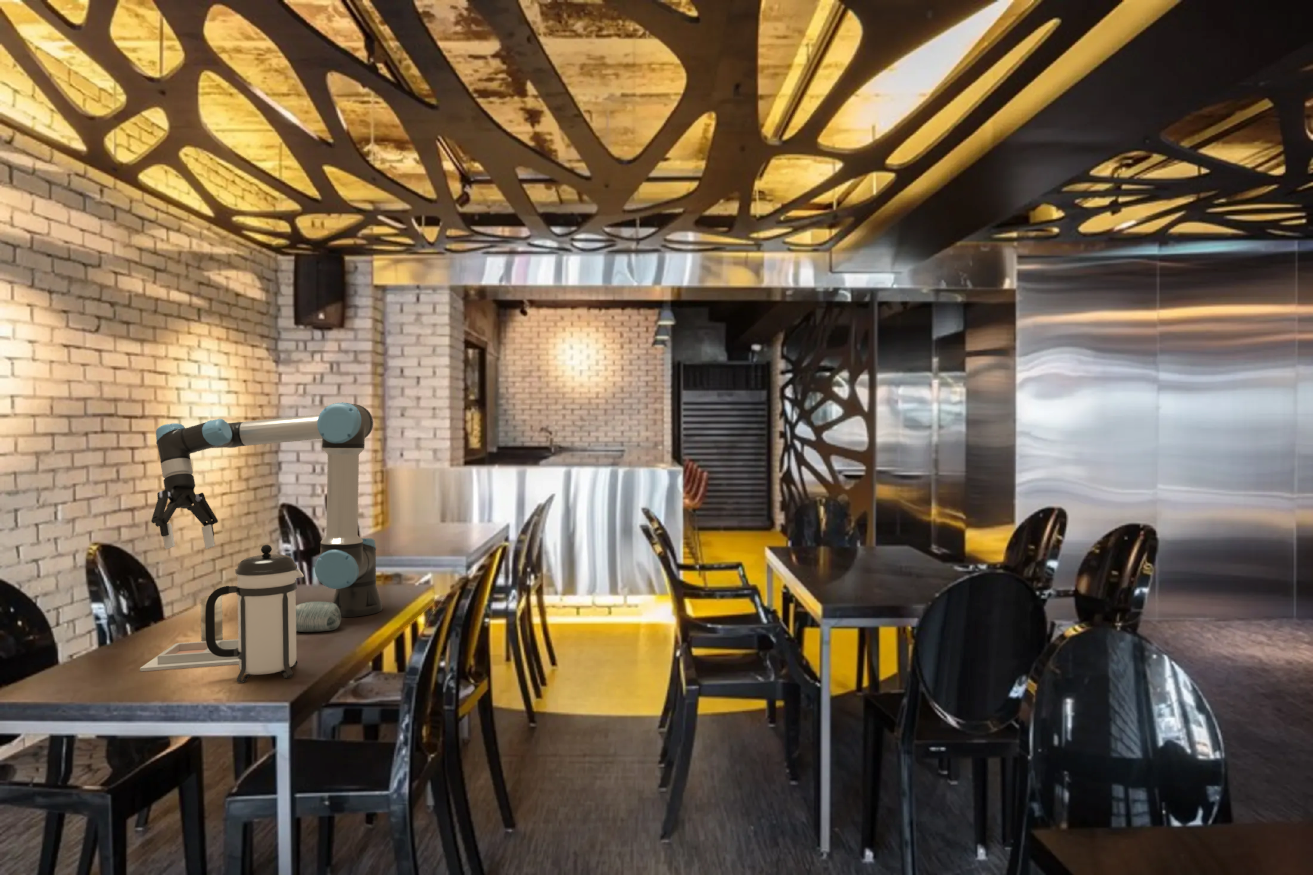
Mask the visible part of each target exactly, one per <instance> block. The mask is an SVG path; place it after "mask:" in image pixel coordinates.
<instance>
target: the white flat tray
mask: <svg viewBox="0 0 1313 875" xmlns="http://www.w3.org/2000/svg"><path fill="white" fill-rule="evenodd" d="M216 644H217V645H218V646H219V647H220V648H222V649H236V648H238V638H236V639H223V640H219V641H216ZM232 665H233V666H235V665H236V666H237V665H239V659H238V658H237V657H220V656H216V655H214V654H213V653H212V652H210V650H209V649H208V647H207V643H206V641H203V642H201V641H191V642H189V641H188V642H178V643H177V642H176V643H174V644H173V645H171V646H170V647H169V648H167V649H165V650H164V651H162V652H161V653H160V654H158V655H156V656H155V657H153V659H151V660H150V661H148V662H147V663H145V664H144V665H142V666H141V667H140V668H139V672H150V671H153V672H154V671H164V670H165V671H166V670H179V669H192V668H207V667H219V666H232Z"/></svg>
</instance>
